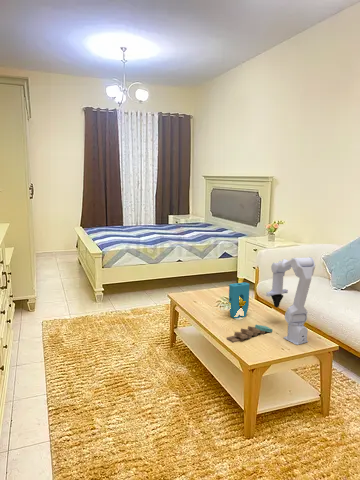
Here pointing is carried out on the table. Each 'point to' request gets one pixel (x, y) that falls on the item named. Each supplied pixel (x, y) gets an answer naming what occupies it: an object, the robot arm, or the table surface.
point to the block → (234, 294)
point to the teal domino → (263, 328)
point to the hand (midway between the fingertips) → (276, 306)
